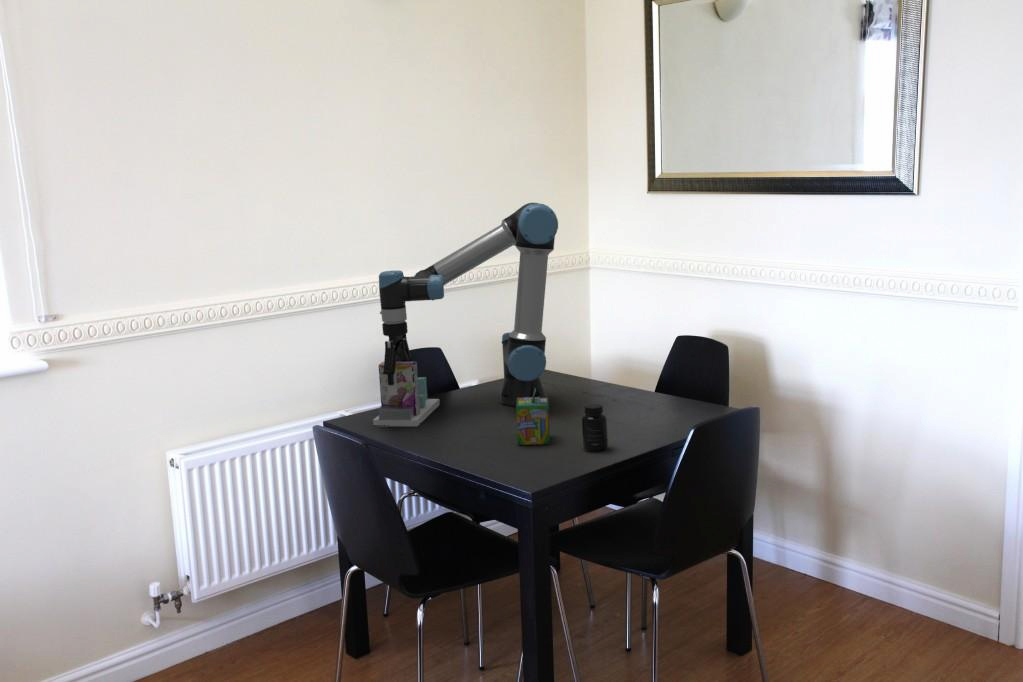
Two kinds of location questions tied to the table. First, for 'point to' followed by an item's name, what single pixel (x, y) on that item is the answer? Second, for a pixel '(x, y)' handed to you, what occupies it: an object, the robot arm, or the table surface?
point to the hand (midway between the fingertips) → (399, 389)
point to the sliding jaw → (422, 391)
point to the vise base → (416, 418)
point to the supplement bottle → (594, 429)
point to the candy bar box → (401, 386)
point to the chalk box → (533, 420)
